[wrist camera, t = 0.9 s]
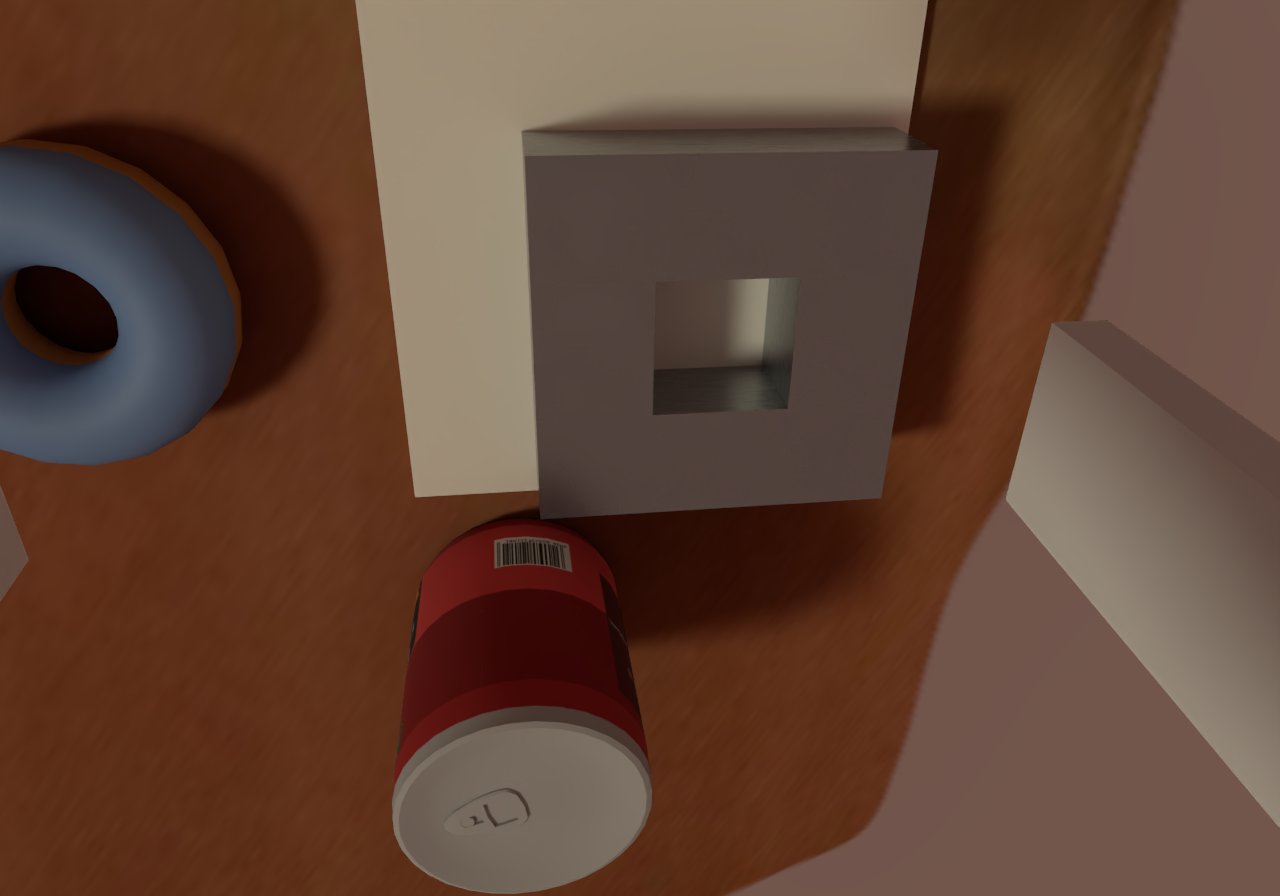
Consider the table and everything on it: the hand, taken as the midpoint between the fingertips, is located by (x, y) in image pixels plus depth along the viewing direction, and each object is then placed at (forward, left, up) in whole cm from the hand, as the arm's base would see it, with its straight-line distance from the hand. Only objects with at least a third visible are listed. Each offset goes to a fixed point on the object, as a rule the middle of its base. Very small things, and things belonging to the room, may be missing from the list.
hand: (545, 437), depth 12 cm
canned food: (+18, -1, -21) cm, 27 cm away
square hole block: (+6, +6, -20) cm, 22 cm away
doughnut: (+5, -14, -21) cm, 25 cm away
